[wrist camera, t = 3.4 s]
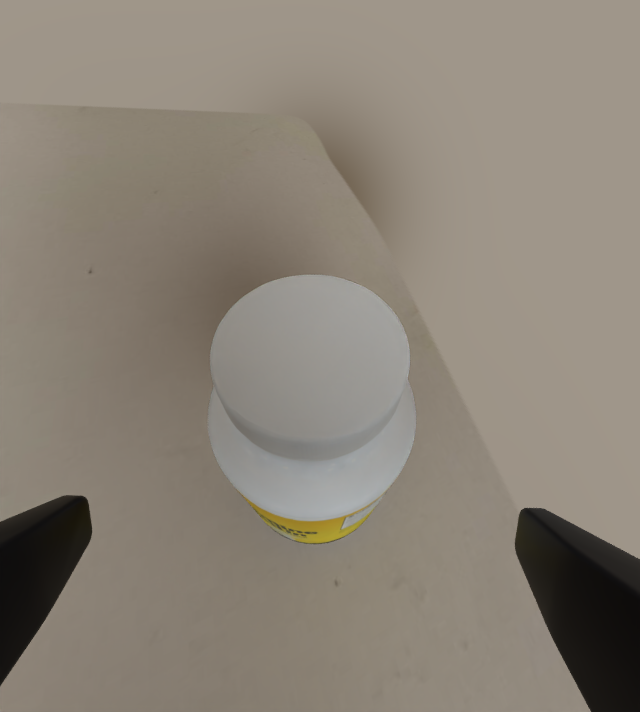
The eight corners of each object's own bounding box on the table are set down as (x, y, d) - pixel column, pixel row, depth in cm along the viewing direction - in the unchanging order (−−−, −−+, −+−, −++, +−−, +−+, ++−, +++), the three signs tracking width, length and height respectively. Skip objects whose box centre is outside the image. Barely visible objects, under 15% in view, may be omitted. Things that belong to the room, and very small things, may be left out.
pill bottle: (234, 441, 19) (143, 289, 9) (346, 396, 21) (368, 223, 11) (276, 573, 16) (204, 552, 6) (404, 510, 17) (512, 412, 8)
